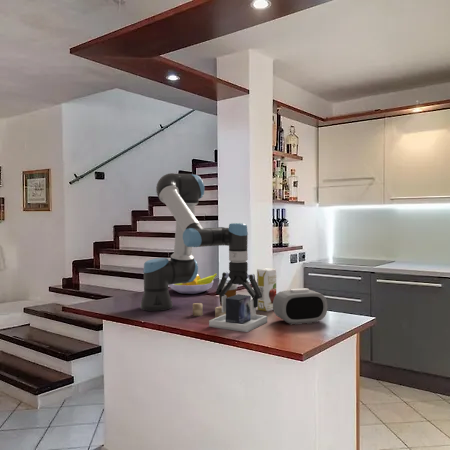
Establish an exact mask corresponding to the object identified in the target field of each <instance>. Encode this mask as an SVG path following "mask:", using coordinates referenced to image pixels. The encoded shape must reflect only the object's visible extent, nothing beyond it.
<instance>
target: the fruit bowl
mask: <svg viewBox="0 0 450 450" xmlns="http://www.w3.org/2000/svg"><path fill="white" fill-rule="evenodd" d="M217 274H218V273H214V274H213V275H209V276H206V277H203V278H201V276H200V275H199V274H198V273H197V276H196V278H195V279H194V280H193V281H192V282H187V283H179V284H170V285H168V287H169V288H170V289H171V290H173V291H174V292H177V293H179V294H187V295H197V294H200V293H204V292H205V291H208V290H209V289H211V288H212V287H213V286H214V285H213V284H214V280H215V278H216V277H217V276H218V275H217Z"/></svg>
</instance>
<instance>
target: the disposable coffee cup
mask: <svg viewBox="0 0 450 450" xmlns="http://www.w3.org/2000/svg"><path fill="white" fill-rule="evenodd" d="M219 284H220V282H219V283H218V284H217V288H218V286H219ZM227 284H228V282H226V283H225V285H224V287H225V286H226V285H227ZM224 287H223V289H224ZM217 288H216V289H217ZM223 289H222V290H223ZM237 289H238V284H233V285H232V286H231V287H230V289H229V290H228V291H227V292H226V296H227V298H228V297H231V296H234V295H237ZM224 296H225V295H224ZM218 298H219V300H220V295H218ZM219 306H222V304H219Z"/></svg>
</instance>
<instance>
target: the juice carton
mask: <svg viewBox="0 0 450 450" xmlns="http://www.w3.org/2000/svg"><path fill="white" fill-rule="evenodd" d="M256 282H257V285H258V287H259V289H260V292H261V294H262V297H261V298H259V299H258V306H257V307H256V311H264V312H270V311H274V310H273V300H274V297H275V296H276V294H277V268H271V267H270V268H269V267H264V268H262V269H258V268H257V269H256Z"/></svg>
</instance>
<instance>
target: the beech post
mask: <svg viewBox="0 0 450 450" xmlns="http://www.w3.org/2000/svg"><path fill="white" fill-rule="evenodd" d="M203 306H204V305H203V303H201V302H196V303H195V302H194V303H192V316H193V317H202V316H203Z"/></svg>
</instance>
